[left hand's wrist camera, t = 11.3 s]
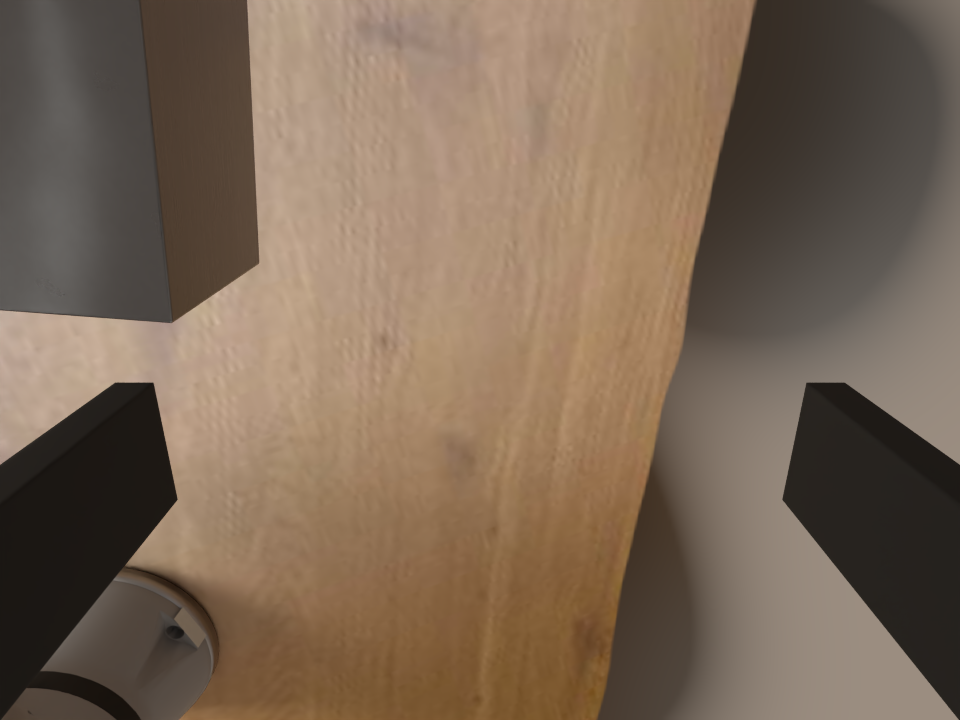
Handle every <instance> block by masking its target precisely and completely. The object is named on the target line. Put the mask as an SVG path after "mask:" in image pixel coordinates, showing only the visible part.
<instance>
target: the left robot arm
mask: <svg viewBox="0 0 960 720" xmlns="http://www.w3.org/2000/svg"><path fill="white" fill-rule="evenodd" d="M177 500H178V499H177V494H176V490H175V485H174V480H173V475H172V470H171V465H170V461H169V456H168V451H167V446H166V441H165V436H164V431H163V427H162V422H161V417H160V412H159V407H158V402H157V398H156V393H155V388H154V383H114V384H113V385H111V386H110V387H109V388H107V389H106V390H104V391H103V392H102V393H100V394H99V395H97V396H96V397H95V398H93V399H92V400H90V401H89V402H88V403H86V404H85V405H83V406H82V407H81V408H79V409H78V410H76V411H75V412H74V413H72V414H71V415H69V416H68V417H67V418H65V419H64V420H62V421H61V422H60V423H58V424H57V425H55V426H54V427H53V428H51V429H50V430H48V431H47V432H46V433H44V434H43V435H41V436H40V437H39V438H37V439H36V440H34V441H33V442H32V443H30V444H29V445H27V446H26V447H25V448H23V449H22V450H20V451H19V452H18V453H16V454H15V455H13V456H12V457H11V458H9V459H8V460H6V461H5V462H4V463H2V464H1V465H0V720H179V719H180V718H181V717H182V716H183V715H184V714H185V713H186V712H187V711H188V710H189V709H190V708H191V707H192V706H193V704H194V703H195V702H196V701H197V700H198V698H199V697H200V696H201V694H202V693H203V692H204V690H205V689H206V687H207V685H208V683H209V681H210V679H211V677H212V675H213V673H214V671H215V668H216V665H217V662H218V657H219V643H218V638H217V634H216V631H215V629H214V626H213V624H212V622H211V621H210V619H209V617H208V616H207V614H206V613H205V611H204V610H203V609H202V608H201V607H200V605H199V604H198V603H197V602H196V601H195V600H194V599H193V598H191V597H190V596H189V595H188V594H187V593H185V592H184V591H183V590H181V589H180V588H178V587H177V586H175V585H173V584H172V583H170V582H168V581H166V580H164V579H162V578H159V577H157V576H155V575H152V574H149V573H146V572H143V571H139V570H134V569H129V568H123V567H124V566H125V565H126V563H127V562H128V561H129V560H130V558H131V557H132V556H133V555H134V553H135V552H136V551H137V550H138V548H139V547H140V546H141V545H142V543H143V542H144V541H145V540H146V538H147V537H148V536H149V535H150V533H151V532H152V531H153V530H154V528H155V527H156V526H157V525H158V523H159V522H160V521H161V520H162V518H163V517H164V516H165V515H166V513H167V512H168V511H169V510H170V508H171V507H172V506H173V505H174V503H175V502H176V501H177ZM783 501H784V502H785V503H786V505H787V506H788V507H789V508H790V510H791V511H792V512H793V513H794V515H795V516H796V517H797V518H798V520H799V521H800V522H801V523H802V525H803V526H804V527H805V528H806V530H807V531H808V532H809V533H810V535H811V536H812V537H813V538H814V540H815V541H816V542H817V543H818V545H819V546H820V547H821V548H822V550H823V551H824V552H825V553H826V554H827V556H828V557H829V558H830V560H831V561H832V562H833V563H834V565H835V566H836V567H837V568H838V570H839V571H840V572H841V573H842V575H843V576H844V577H845V578H846V580H847V581H848V582H849V583H850V584H851V586H852V587H853V588H854V590H855V591H856V592H857V593H858V594H859V596H860V597H861V598H862V599H863V601H864V602H865V603H866V604H867V606H868V607H869V608H870V609H871V611H872V612H873V613H874V614H875V616H876V617H877V618H878V619H879V621H880V622H881V623H882V624H883V626H884V627H885V628H886V629H887V631H888V632H889V633H890V634H891V636H892V637H893V638H894V639H895V641H896V642H897V643H898V644H899V646H900V647H901V648H902V649H903V651H904V652H905V653H906V654H907V656H908V657H909V658H910V659H911V661H912V662H913V663H914V664H915V665H916V667H917V668H918V669H919V671H920V672H921V673H922V674H923V676H924V677H925V678H926V679H927V681H928V682H929V683H930V684H931V686H932V687H933V688H934V689H935V691H936V692H937V693H938V694H939V695H940V697H941V698H942V699H943V701H944V702H945V703H946V704H947V705H948V707H949V708H950V709H951V710H952V712H953V713H954V714H955V715H956V717H957V718H958V719H959V720H960V465H959V464H958V463H956V462H955V461H954V460H952V459H951V458H949V457H948V456H947V455H945V454H944V453H942V452H941V451H940V450H938V449H937V448H935V447H934V446H933V445H931V444H930V443H928V442H927V441H926V440H924V439H923V438H921V437H920V436H919V435H917V434H916V433H914V432H913V431H912V430H910V429H909V428H907V427H906V426H905V425H903V424H902V423H900V422H899V421H898V420H896V419H895V418H893V417H892V416H891V415H889V414H888V413H886V412H885V411H884V410H882V409H881V408H879V407H878V406H877V405H875V404H874V403H872V402H871V401H870V400H868V399H867V398H865V397H864V396H862V395H861V394H860V393H858V392H857V391H855V390H854V389H853V388H851V387H850V386H849V385H847V384H846V383H806V388H805V393H804V398H803V402H802V407H801V412H800V417H799V422H798V427H797V431H796V436H795V441H794V446H793V451H792V456H791V461H790V465H789V470H788V475H787V480H786V485H785V490H784V494H783Z"/></svg>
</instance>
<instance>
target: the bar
mask: <svg viewBox="0 0 960 720" xmlns="http://www.w3.org/2000/svg"><path fill="white" fill-rule="evenodd" d="M258 264H259V247H258V226H257V204H256V183H255V162H254V140H253V119H252V98H251V76H250V55H249V34H248V12H247V0H0V310H5V311H18V312H32V313H45V314H58V315H72V316H85V317H98V318H112V319H125V320H138V321H151V322H165V323H172V322H174V321H176V320H177V319H178V318H180V317H181V316H183V315H184V314H186V313H187V312H189V311H190V310H192V309H193V308H195V307H196V306H197V305H199V304H200V303H202V302H203V301H205V300H206V299H208V298H209V297H211V296H212V295H214V294H215V293H217V292H218V291H219V290H221V289H222V288H224V287H225V286H227V285H228V284H230V283H231V282H233V281H234V280H236V279H237V278H239V277H240V276H241V275H243V274H244V273H246V272H247V271H249V270H250V269H252V268H253V267H255V266H256V265H258Z"/></svg>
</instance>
